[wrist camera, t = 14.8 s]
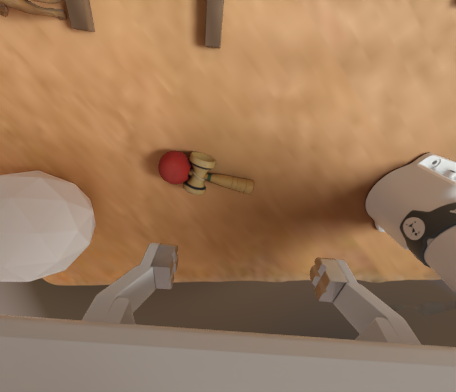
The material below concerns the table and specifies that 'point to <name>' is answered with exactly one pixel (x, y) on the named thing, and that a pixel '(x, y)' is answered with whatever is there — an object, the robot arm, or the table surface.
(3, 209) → the geometric polyhedron
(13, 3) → the lion figurine
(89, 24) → the stop channel
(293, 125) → the table surface
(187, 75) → the table surface
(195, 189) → the kendama
